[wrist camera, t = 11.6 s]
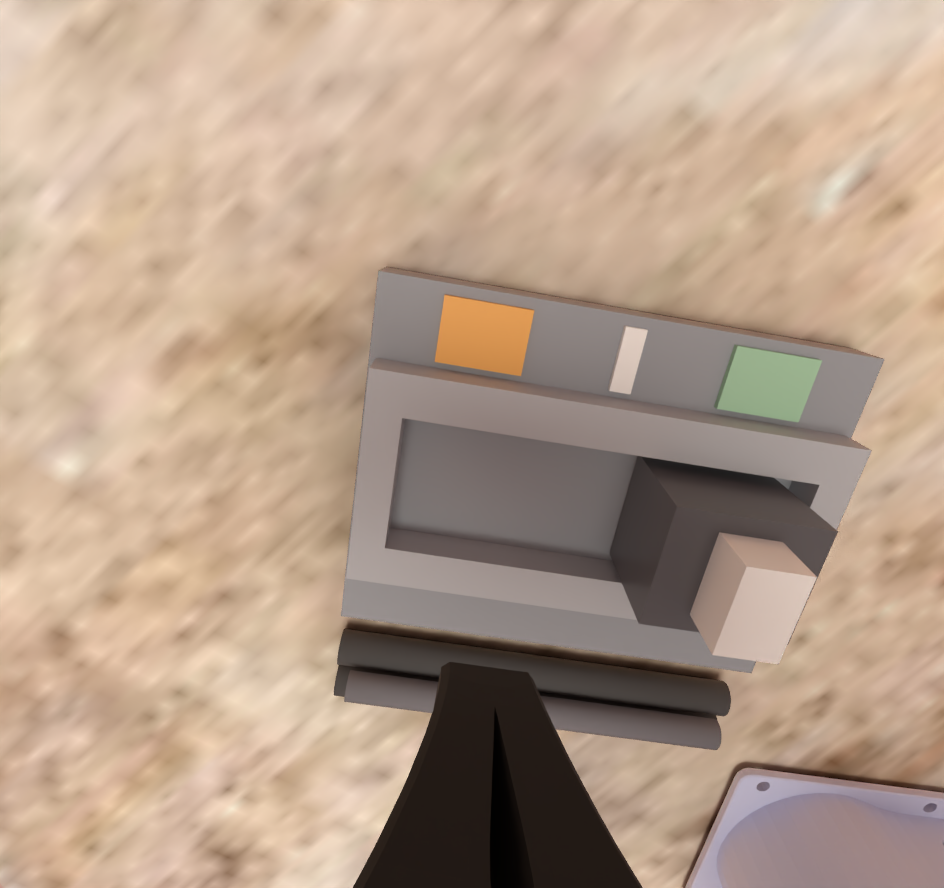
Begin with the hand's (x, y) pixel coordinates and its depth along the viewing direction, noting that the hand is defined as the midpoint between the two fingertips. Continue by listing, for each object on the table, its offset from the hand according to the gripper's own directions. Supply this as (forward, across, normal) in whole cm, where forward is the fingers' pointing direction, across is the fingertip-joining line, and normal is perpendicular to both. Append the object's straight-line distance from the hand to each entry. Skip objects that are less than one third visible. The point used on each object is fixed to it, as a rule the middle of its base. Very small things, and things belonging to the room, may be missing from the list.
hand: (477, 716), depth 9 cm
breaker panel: (+10, -4, 0) cm, 11 cm away
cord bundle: (+10, -4, +8) cm, 13 cm away
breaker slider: (+9, -7, 0) cm, 11 cm away
